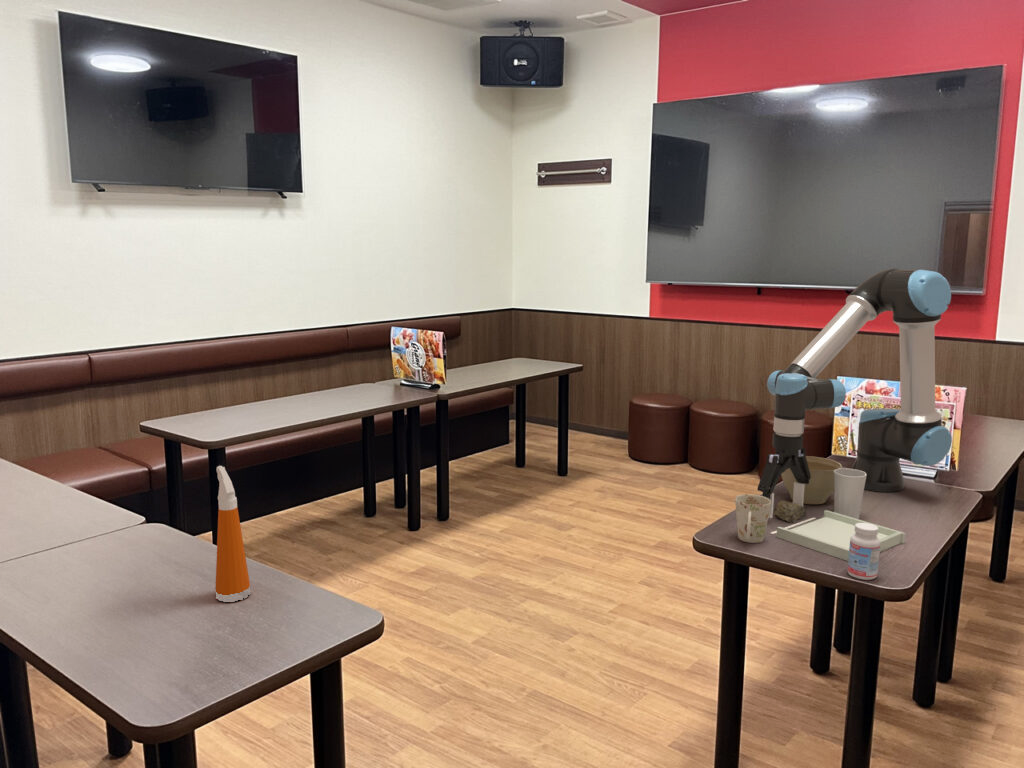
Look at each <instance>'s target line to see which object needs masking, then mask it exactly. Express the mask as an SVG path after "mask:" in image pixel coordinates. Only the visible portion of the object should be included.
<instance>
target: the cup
mask: <svg viewBox="0 0 1024 768" xmlns="http://www.w3.org/2000/svg"><path fill="white" fill-rule="evenodd" d="M866 475H867V474H866V473H865V472H863V471H860V470H856V469H852V468H843V467H842V468H840V469H835V470H834V491H833V493H834V494H833V502H834V504H833V512H835V513H838V514H842V515H845V516H849V517H852V518H855V519H859V520H860V516H861V509H862V505H863V497H864V492H865V491H864V490H865V489H864V486H865V481H866Z"/></svg>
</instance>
